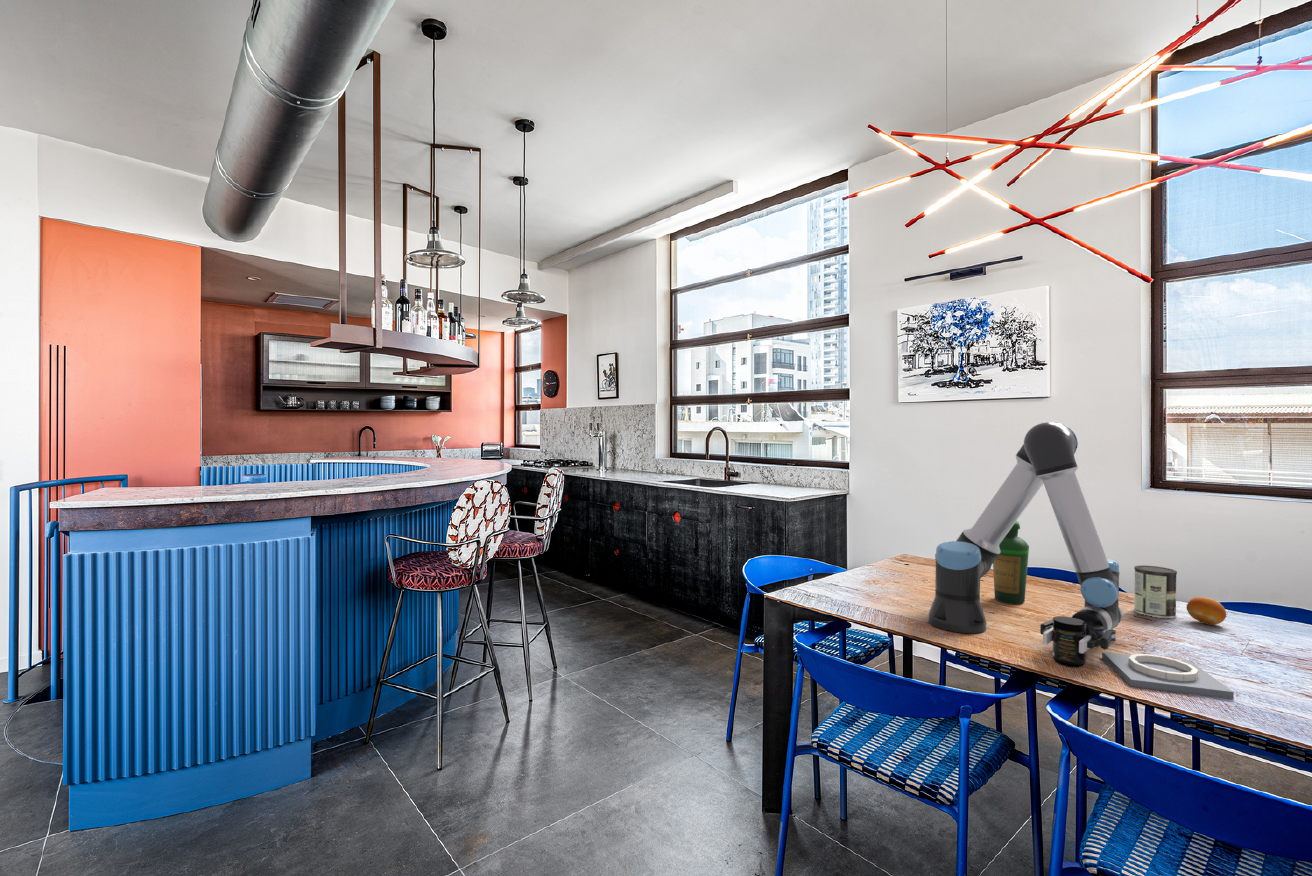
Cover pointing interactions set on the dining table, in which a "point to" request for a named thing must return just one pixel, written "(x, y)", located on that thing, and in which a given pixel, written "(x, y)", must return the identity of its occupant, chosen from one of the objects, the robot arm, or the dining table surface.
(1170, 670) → the ring board
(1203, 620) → the fruit
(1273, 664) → the dining table surface
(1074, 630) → the supplement container
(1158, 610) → the coffee can
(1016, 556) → the bottle
